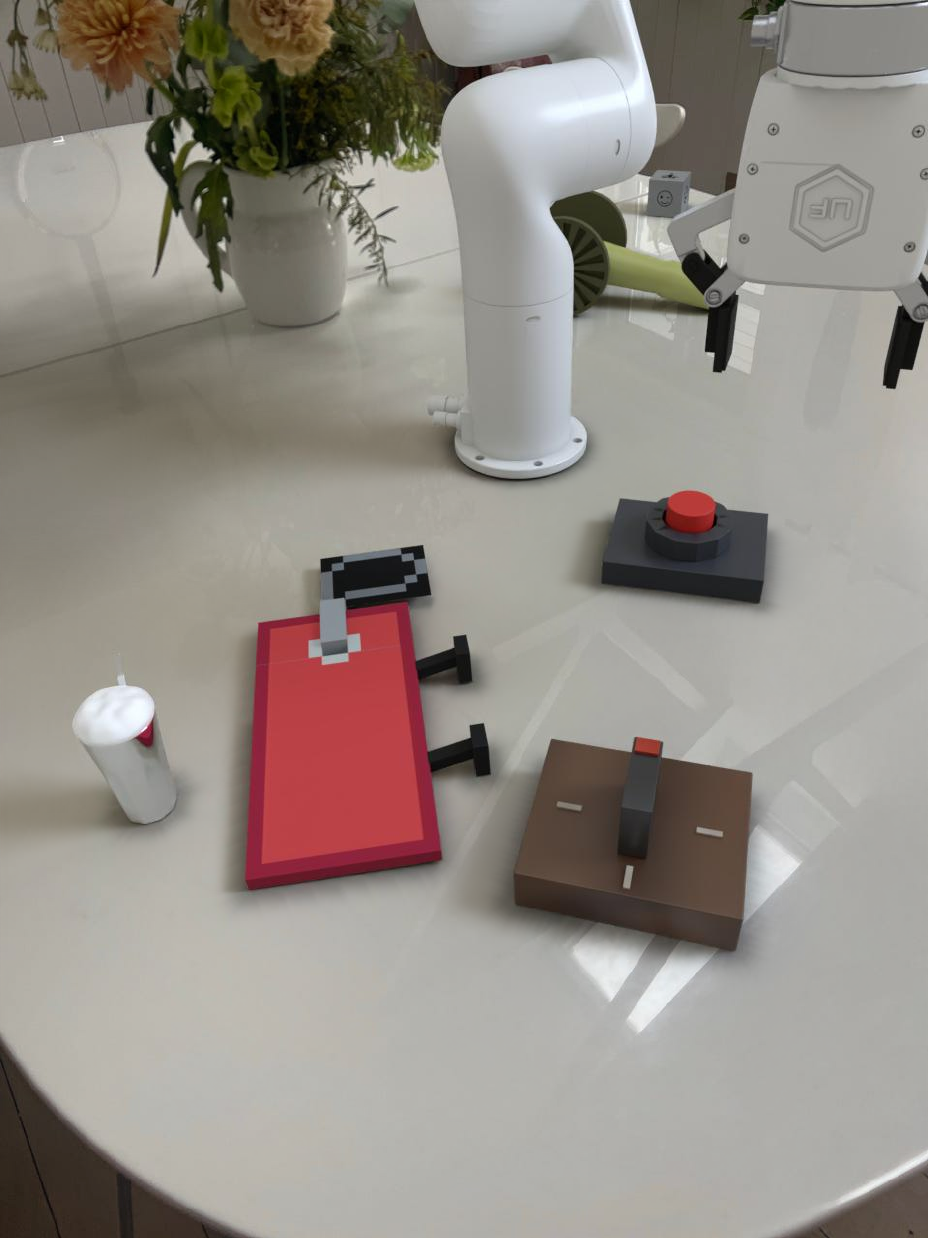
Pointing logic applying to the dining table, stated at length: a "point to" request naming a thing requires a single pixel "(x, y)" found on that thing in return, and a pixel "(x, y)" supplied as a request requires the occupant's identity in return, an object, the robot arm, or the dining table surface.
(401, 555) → the red board with handle
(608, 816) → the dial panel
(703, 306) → the cannon
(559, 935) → the dining table surface
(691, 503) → the power button
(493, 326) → the robot arm
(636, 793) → the box with red button
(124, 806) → the milkshake
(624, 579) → the button box
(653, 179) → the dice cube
